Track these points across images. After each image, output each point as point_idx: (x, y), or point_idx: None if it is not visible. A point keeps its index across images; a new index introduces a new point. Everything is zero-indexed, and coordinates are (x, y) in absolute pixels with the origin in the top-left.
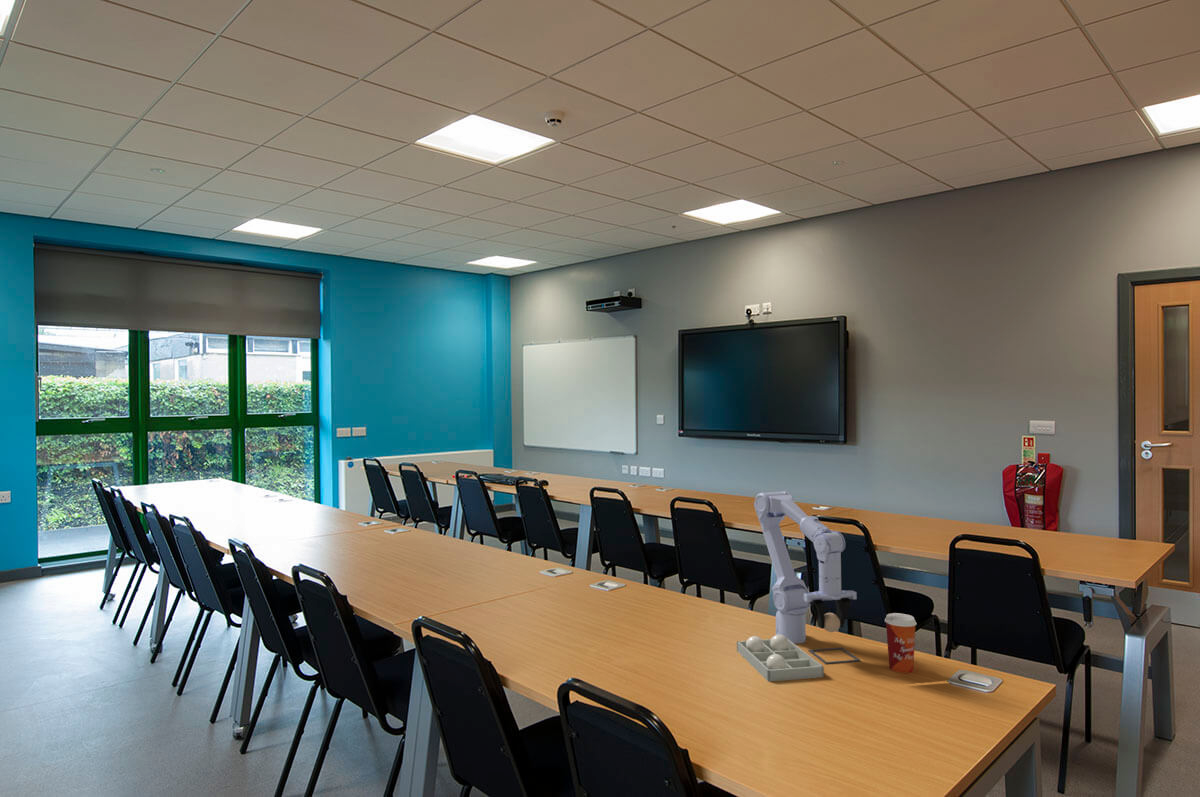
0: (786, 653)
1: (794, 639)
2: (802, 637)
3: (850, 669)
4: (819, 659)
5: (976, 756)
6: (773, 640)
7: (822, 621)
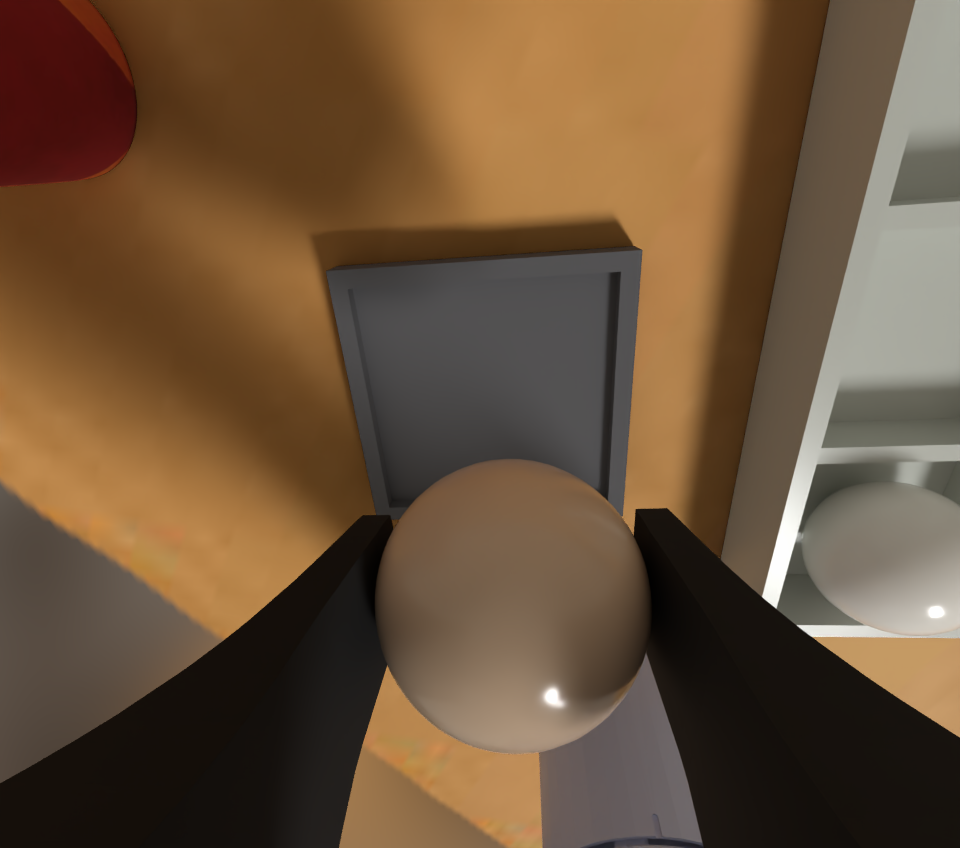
0: (887, 436)
1: None
2: None
3: (456, 168)
4: (632, 354)
5: None
6: None
7: (711, 563)
